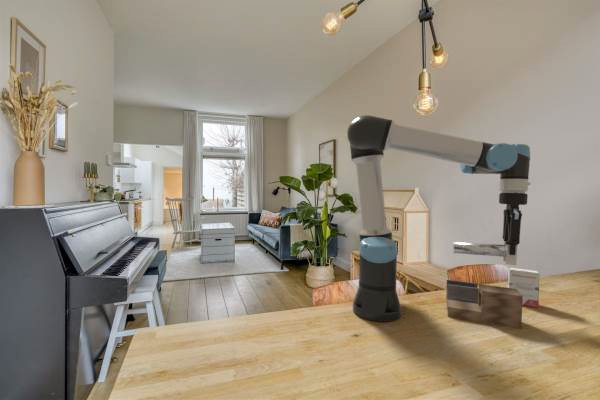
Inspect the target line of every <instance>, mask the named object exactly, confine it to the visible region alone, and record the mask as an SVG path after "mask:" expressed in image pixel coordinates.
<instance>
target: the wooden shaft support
mask: <svg viewBox="0 0 600 400" xmlns="http://www.w3.org/2000/svg"><path fill="white" fill-rule="evenodd" d="M478 288H479V289H478V304H475V303H468V302H461V301H454V300H448V299H447V298H446V312H447V313H446V314H447V317H449V318H450V317H452V318H456V319H457V318H458V319H462V320H469V321H473V320H474V322H480V323H485V322H486V323H485V324H491V323H493V324H492V325H497V324H498V326H503V327H504V326H505V327H510V328H517V329H522V322H523V321H522V319H523V305H522V300H523V296H522V295H521V294H520V293H519V291H518V290H517V289H514V288H508V287H503V286H496V285H489V284H481V283H479V284H478Z"/></svg>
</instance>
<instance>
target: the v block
mask: <svg viewBox="0 0 600 400" xmlns="http://www.w3.org/2000/svg"><path fill="white" fill-rule="evenodd" d="M478 289H479V284H478V282H471V281H469V282H468V281H461V280H453V279H446V290H445V292H446V294H445V296H446V300H447V299H448V300H454V301H461V302H468V303H475V304H478Z"/></svg>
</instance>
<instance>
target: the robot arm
mask: <svg viewBox="0 0 600 400" xmlns="http://www.w3.org/2000/svg"><path fill="white" fill-rule="evenodd" d="M346 134H347V141H348V142H349V147H350V148H349V149H350V155H351V162H352V163H354V164H355V166H356V176H357V183H358V184H357V186H358V193H359V194H358V195H359V204H360V205H359V206H360V214H361V222H362V223H361V224H362V229H361V230H360V232H358V233H359V234H358V235H359V247H358V252H359V257H358V258H359V264H358V287H357V290H356V293H355V296H354V299H353V302H352V311H353V313H354V314H355V315H356V316H358V317H361V318H362V319H366V320H369V321H374V322H394V321H397V320H398V319H400V318H401V317H402V306H401V303H400V300H399V299H400V298H399V296H398V295H399V294H398V292H397V267H398V266H397V264H398V261H397V260H398V257H397V256H398V254H399V253H398V252H399V251H398V246H397V243H396V242H395V240H393V234H392V233H393V232H392V230H391V229H390V228H388V226H387V217H386V215H387V214H386V206H385V197H384V196H385V195H384V189H383V188H384V186H383V179H382V178H383V177H382V168H381V161H382V160H383V159H384V157H385V155H384V154H385V153H384V151H387V150H388V149H391V150H395V151H400V152H405V153H408V154H414V155H419V156H424V157H428V158H431V159H437V160H442V161H446V162H451V163H456V164H460V171H461V172H462V173H463V174H471V175H473V174H477V175H481V174H482V175H487V174H488V175H491V174H492V175H493V174H494V175H500V179H499V192H500V193H499V194H498V198H499V199H498V203H499V204H500V205H506V206H505V209H503V225H502V226H503V227H502V239H503V245H507V248H506V257H502V262H505V265H510V266H517V256H518V245H519V244H520V239H521V224H522V223H521V222H522V218H523V217H522V216H523V213H522V210H520V206H525V205H527V204H528V194H527V193H526V192H528V191H529V190H528V189H529V186H530V185H531V182H529V176H530V175H529V174H530V161H531V148H530V145H527V144H524V143H516V144H514V143H513V144H510V143H505V142H504V143H501V142H500V143H489V142H484V141H480V140H479V141H478V140H474V139H469V138H464V137H459V136H453V135H449V134H445V133H440V132H435V131H429V130H424V129H420V128H414V127H410V126H406V125H400V124H396V122H395V121H394V119H393V120H392V119H388V118H385V117H384V118H383V117H379V116H375V115H369V114H368V115H367V114H364V115H361V116H358V117H356V118H355V119H353V120H352V121H351V122H350V124H349V125H348V128H347V133H346Z"/></svg>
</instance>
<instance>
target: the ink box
mask: <svg viewBox="0 0 600 400" xmlns="http://www.w3.org/2000/svg"><path fill="white" fill-rule="evenodd" d="M507 273H508V275H507V276H508V277H507V279H508V280H507V288H514V289H517V290H518V291H519V293H520V294H521V295H522V296H523V300H522V306H527V307H531V308H532V307H533V308H539V305H540V304H539V303H540V280H541V278H540V276H541V274H540V272H539V271H538V270H532V269H524V268H517V267H516V268H515V267H508V272H507Z"/></svg>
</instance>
